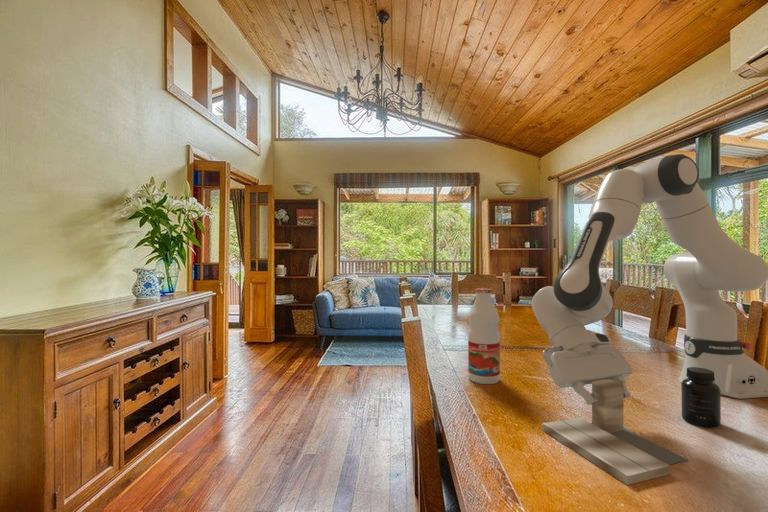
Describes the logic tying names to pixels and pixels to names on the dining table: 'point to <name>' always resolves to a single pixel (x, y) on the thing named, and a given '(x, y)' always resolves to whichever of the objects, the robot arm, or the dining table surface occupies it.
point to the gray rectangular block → (608, 405)
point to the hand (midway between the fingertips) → (610, 400)
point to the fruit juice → (483, 340)
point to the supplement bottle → (701, 398)
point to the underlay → (649, 447)
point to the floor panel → (607, 450)
